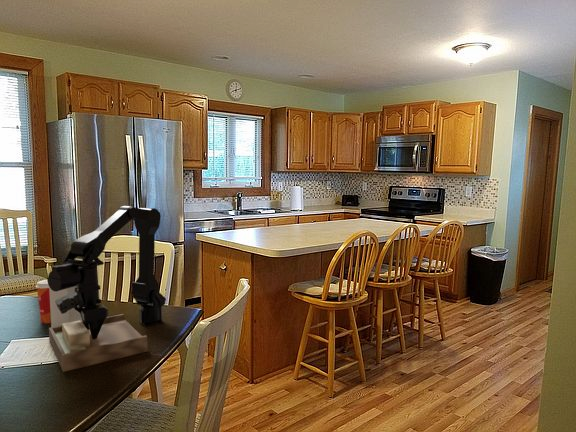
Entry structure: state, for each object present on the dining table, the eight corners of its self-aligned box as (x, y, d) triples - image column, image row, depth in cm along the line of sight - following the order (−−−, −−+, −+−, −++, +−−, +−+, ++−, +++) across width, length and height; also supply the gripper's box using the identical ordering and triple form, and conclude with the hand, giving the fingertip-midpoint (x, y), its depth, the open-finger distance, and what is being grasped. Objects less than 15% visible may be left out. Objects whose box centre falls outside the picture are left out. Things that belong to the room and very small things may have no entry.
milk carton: (70, 331, 139) (67, 274, 137) (51, 329, 140) (48, 273, 138) (84, 323, 146) (82, 269, 144) (66, 322, 147) (63, 268, 145)
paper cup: (44, 317, 152) (42, 278, 151) (66, 316, 153) (64, 278, 151) (33, 325, 144) (30, 284, 143) (56, 324, 145) (54, 284, 144)
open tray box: (123, 326, 143) (123, 313, 143) (147, 351, 124) (147, 336, 123) (49, 342, 130) (48, 327, 130) (63, 371, 111) (62, 355, 110)
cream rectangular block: (81, 332, 130) (80, 320, 129) (90, 345, 120) (89, 332, 120) (62, 336, 127) (61, 323, 126) (70, 350, 117) (69, 336, 117)
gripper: (51, 280, 126) (54, 331, 128) (62, 295, 112) (66, 352, 113) (91, 274, 133) (94, 322, 135) (107, 287, 118) (110, 341, 120)
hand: (90, 334), depth 126 cm, fingers open, 9 cm apart
